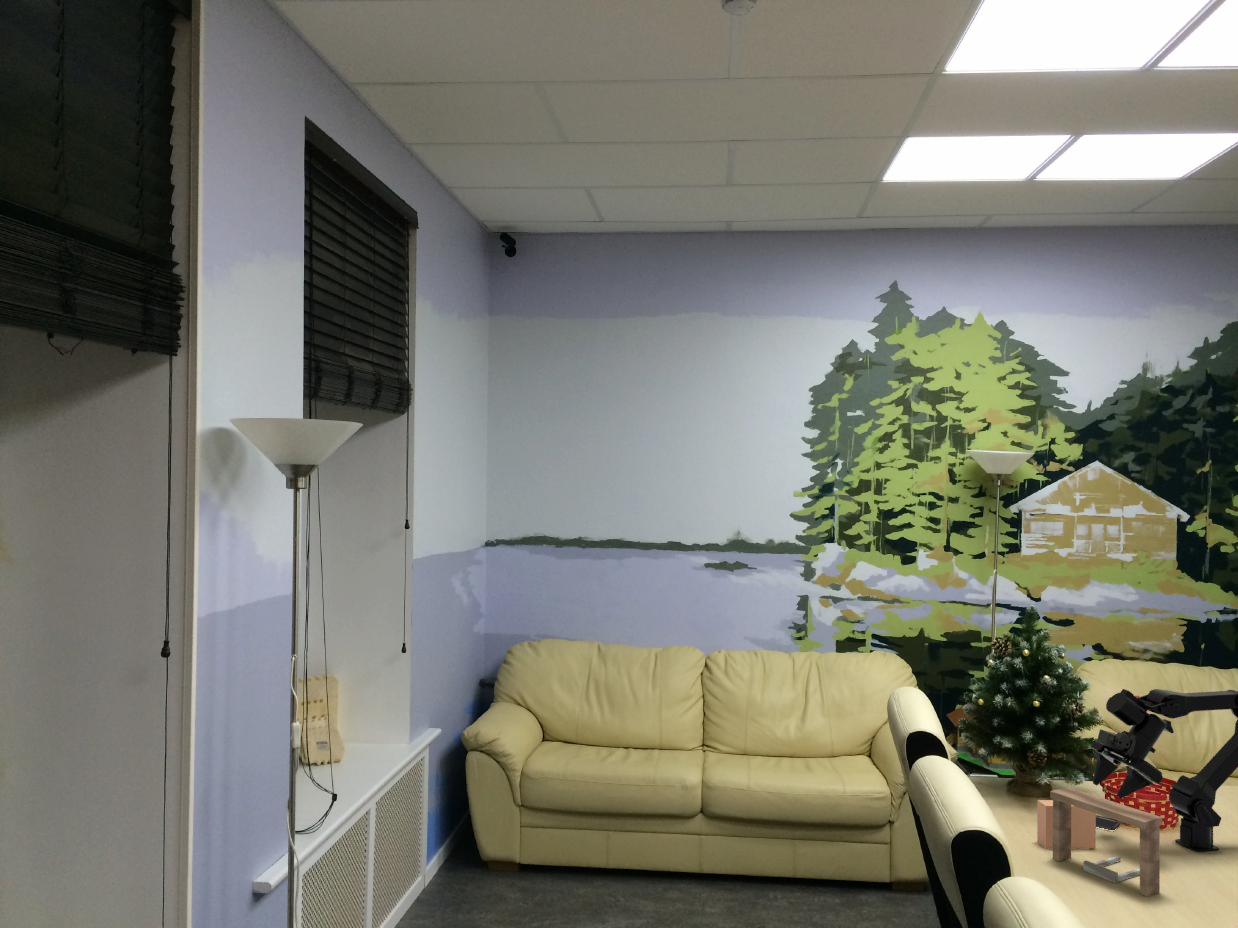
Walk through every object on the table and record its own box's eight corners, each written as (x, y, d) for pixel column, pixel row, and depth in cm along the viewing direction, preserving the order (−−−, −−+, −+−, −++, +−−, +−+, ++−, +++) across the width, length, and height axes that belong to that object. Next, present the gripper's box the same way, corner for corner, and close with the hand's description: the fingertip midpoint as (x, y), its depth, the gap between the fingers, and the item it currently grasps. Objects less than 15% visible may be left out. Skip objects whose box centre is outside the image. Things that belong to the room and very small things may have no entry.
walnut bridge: (1087, 848, 210) (1087, 782, 210) (1182, 884, 191) (1182, 811, 191) (1049, 859, 203) (1050, 790, 203) (1144, 897, 184) (1144, 822, 185)
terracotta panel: (1086, 842, 214) (1086, 800, 214) (1095, 848, 210) (1095, 806, 210) (1037, 841, 213) (1037, 799, 214) (1045, 848, 209) (1046, 805, 210)
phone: (1059, 806, 237) (1121, 821, 227) (1059, 810, 237) (1121, 825, 226) (1049, 813, 231) (1112, 829, 221) (1049, 817, 231) (1112, 833, 221)
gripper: (1092, 707, 222) (1057, 759, 221) (1142, 727, 203) (1104, 783, 202) (1126, 733, 222) (1092, 785, 221) (1179, 755, 204) (1142, 811, 202)
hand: (1106, 790), depth 212 cm, fingers open, 9 cm apart
